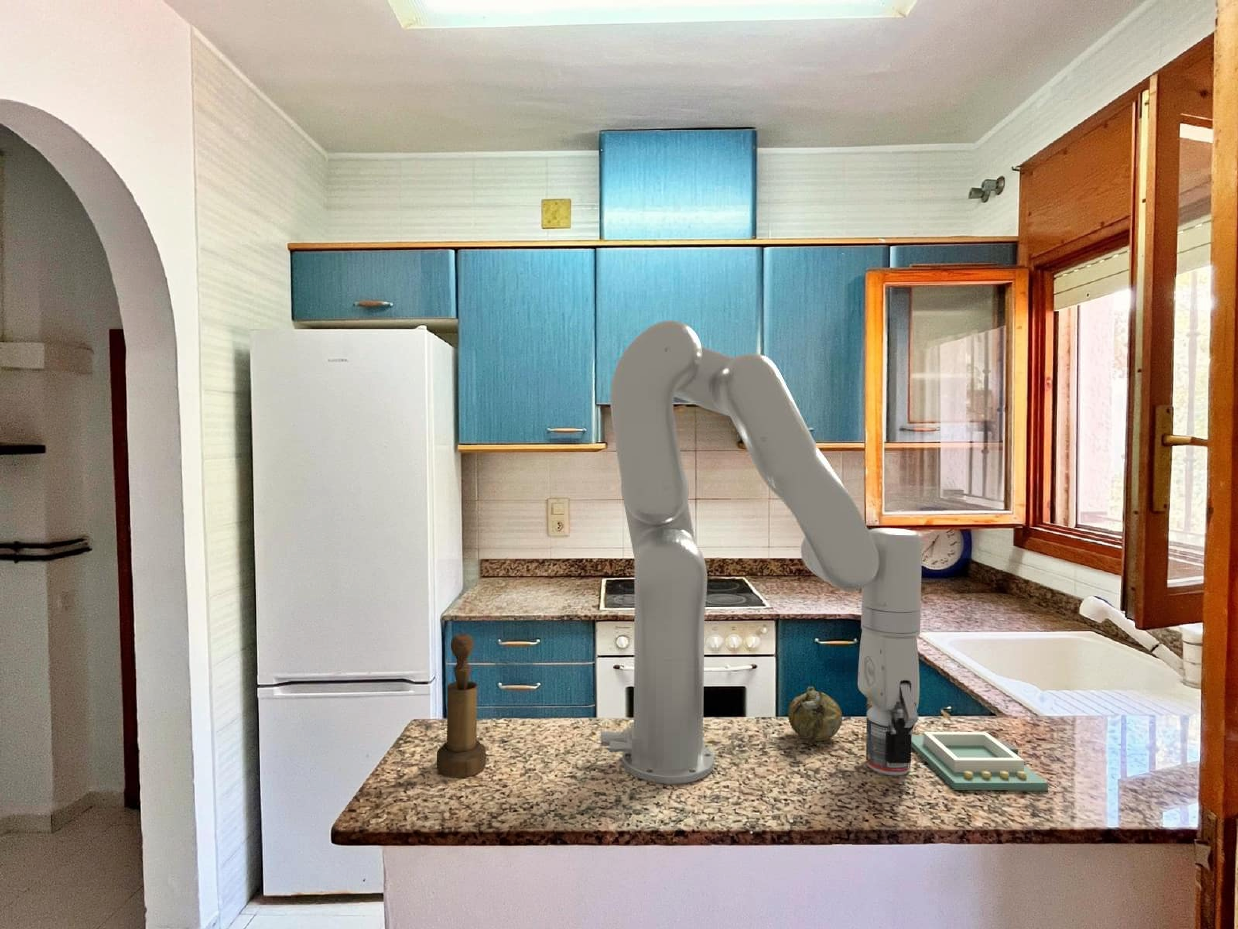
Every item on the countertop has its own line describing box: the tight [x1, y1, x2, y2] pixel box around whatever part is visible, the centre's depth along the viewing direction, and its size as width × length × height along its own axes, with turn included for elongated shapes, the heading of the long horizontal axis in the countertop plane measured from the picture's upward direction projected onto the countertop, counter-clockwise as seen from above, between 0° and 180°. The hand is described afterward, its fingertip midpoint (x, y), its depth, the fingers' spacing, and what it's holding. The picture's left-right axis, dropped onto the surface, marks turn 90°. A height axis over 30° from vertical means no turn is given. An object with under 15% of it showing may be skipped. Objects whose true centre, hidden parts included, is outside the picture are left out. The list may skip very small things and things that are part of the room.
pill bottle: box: [865, 701, 912, 777], centre depth 95 cm, size 6×6×10 cm
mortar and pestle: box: [436, 633, 487, 778], centre depth 94 cm, size 7×6×18 cm
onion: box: [787, 686, 843, 742], centre depth 105 cm, size 8×8×8 cm
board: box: [911, 731, 1049, 792], centre depth 97 cm, size 12×15×3 cm
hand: (888, 750), depth 96 cm, fingers closed on pill bottle, 5 cm apart
